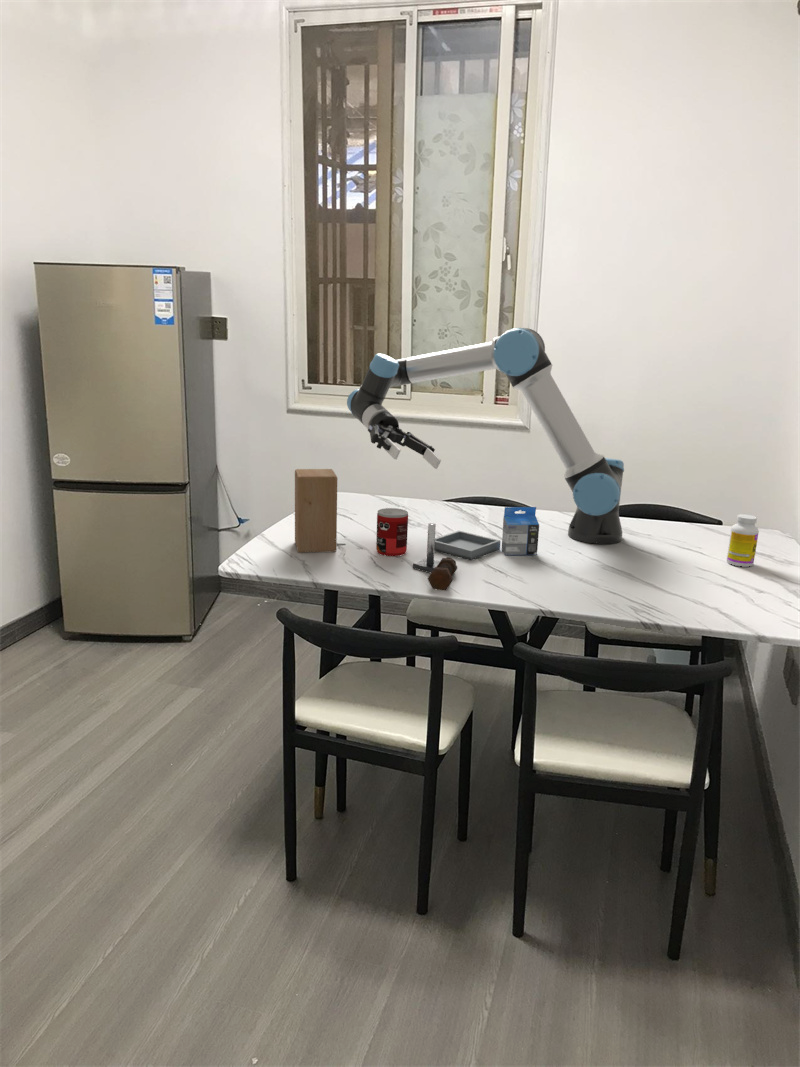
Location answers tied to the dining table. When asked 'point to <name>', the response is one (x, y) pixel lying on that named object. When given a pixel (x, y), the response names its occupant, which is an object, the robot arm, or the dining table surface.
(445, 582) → the brown hex dumbbell
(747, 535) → the supplement bottle
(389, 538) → the canned food
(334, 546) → the wooden block
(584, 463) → the robot arm
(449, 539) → the tray
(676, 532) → the dining table surface
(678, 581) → the dining table surface
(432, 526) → the stand
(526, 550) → the label tape box
